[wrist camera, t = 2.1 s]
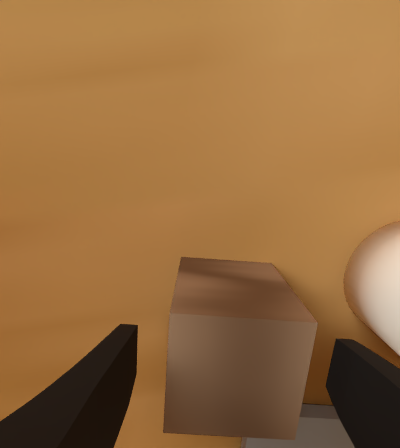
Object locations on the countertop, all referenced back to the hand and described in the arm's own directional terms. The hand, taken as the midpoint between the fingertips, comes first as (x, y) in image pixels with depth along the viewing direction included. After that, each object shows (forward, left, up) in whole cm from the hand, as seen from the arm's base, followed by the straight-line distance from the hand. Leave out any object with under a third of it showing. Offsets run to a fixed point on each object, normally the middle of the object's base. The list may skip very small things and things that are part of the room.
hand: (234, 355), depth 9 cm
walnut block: (0, 0, -4) cm, 4 cm away
